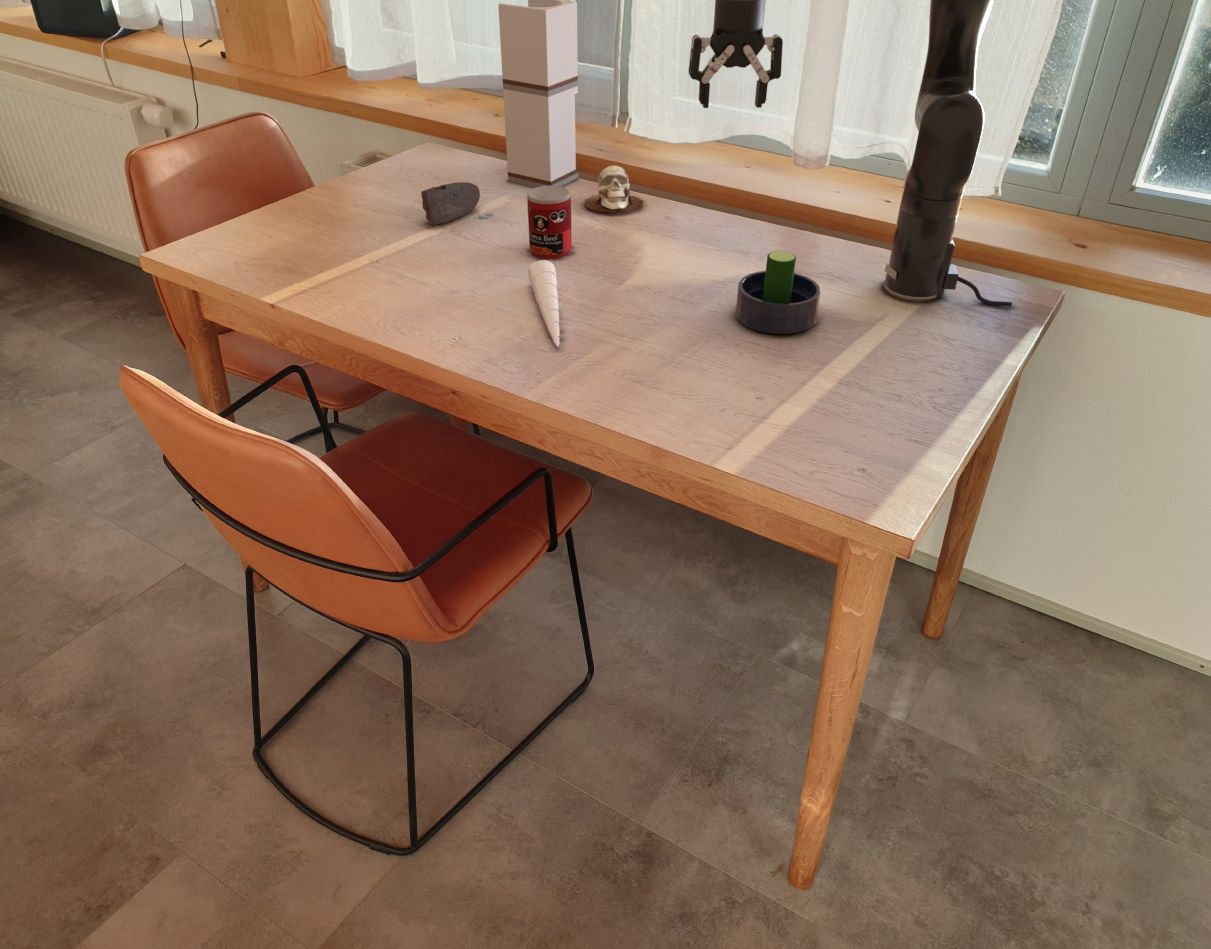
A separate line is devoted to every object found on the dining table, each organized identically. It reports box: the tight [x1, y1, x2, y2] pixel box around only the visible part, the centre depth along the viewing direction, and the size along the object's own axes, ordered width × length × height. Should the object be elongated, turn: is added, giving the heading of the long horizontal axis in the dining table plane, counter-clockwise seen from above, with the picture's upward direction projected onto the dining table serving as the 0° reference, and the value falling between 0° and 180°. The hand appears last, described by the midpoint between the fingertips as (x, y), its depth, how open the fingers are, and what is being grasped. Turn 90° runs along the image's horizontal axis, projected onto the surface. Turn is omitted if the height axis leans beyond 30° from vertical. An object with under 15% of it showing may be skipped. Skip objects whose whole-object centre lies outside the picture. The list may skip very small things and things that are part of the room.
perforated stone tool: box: [420, 181, 481, 226], centre depth 184 cm, size 15×5×7 cm, turn 139°
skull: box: [584, 165, 644, 213], centre depth 191 cm, size 12×10×10 cm
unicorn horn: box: [527, 259, 560, 348], centre depth 150 cm, size 5×24×5 cm, turn 5°
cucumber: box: [762, 250, 797, 304], centre depth 148 cm, size 4×4×10 cm
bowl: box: [735, 270, 822, 335], centre depth 150 cm, size 13×13×6 cm
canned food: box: [526, 186, 573, 260], centre depth 170 cm, size 8×8×11 cm
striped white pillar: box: [497, 0, 580, 188], centre depth 195 cm, size 11×11×35 cm
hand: (731, 106), depth 150 cm, fingers open, 8 cm apart
